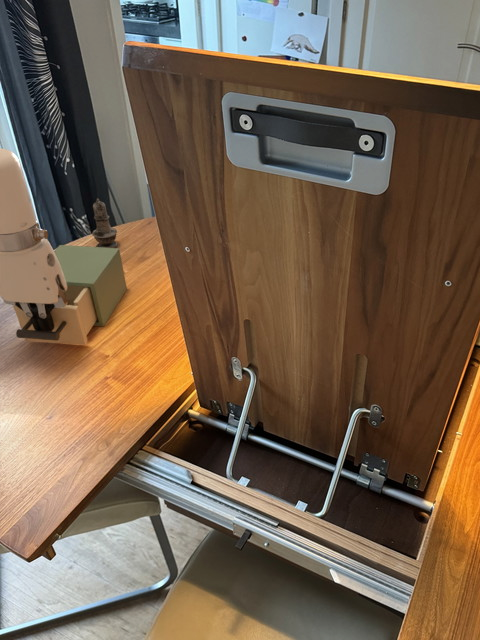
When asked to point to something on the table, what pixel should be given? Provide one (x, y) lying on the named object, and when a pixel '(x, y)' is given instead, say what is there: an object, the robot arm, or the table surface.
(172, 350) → the table surface
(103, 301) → the cabinet
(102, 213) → the brown carved figurine
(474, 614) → the table surface
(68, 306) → the drawer
